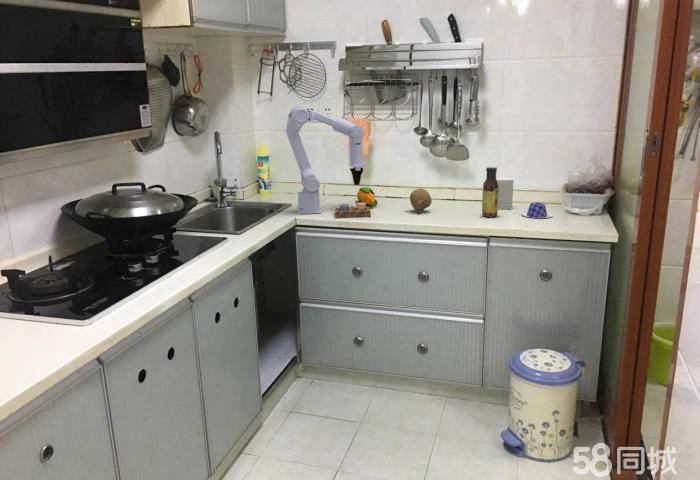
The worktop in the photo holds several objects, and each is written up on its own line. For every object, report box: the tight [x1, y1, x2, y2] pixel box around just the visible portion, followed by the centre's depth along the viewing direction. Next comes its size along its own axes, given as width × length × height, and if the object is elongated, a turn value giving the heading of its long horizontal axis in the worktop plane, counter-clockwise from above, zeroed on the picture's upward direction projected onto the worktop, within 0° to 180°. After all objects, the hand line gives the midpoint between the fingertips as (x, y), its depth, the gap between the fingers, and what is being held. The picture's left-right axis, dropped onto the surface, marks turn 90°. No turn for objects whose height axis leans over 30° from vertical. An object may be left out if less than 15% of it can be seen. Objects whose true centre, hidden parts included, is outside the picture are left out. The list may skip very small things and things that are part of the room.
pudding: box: [521, 202, 553, 219], centre depth 238 cm, size 12×12×5 cm
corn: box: [356, 186, 378, 207], centre depth 264 cm, size 7×8×20 cm
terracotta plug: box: [355, 201, 367, 210], centre depth 245 cm, size 4×4×4 cm
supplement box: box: [496, 176, 514, 210], centre depth 253 cm, size 7×7×13 cm
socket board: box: [334, 206, 372, 219], centre depth 245 cm, size 14×9×2 cm, turn 94°
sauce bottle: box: [481, 166, 499, 218], centre depth 237 cm, size 6×6×20 cm
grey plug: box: [339, 203, 350, 211], centre depth 244 cm, size 4×4×4 cm
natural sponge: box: [409, 187, 433, 213], centre depth 248 cm, size 9×9×10 cm
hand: (356, 184), depth 255 cm, fingers closed
